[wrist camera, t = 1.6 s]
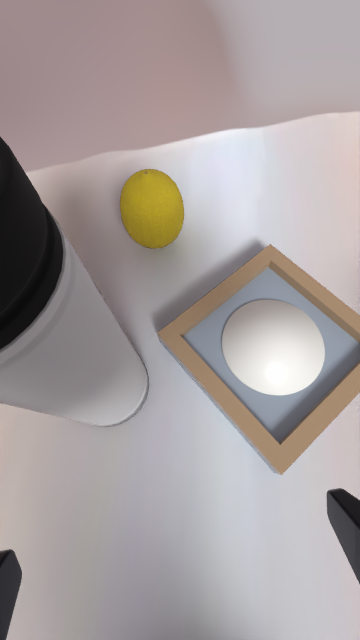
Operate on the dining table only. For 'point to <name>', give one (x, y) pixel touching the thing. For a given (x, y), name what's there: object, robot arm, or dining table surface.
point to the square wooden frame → (271, 354)
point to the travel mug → (57, 319)
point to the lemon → (152, 208)
